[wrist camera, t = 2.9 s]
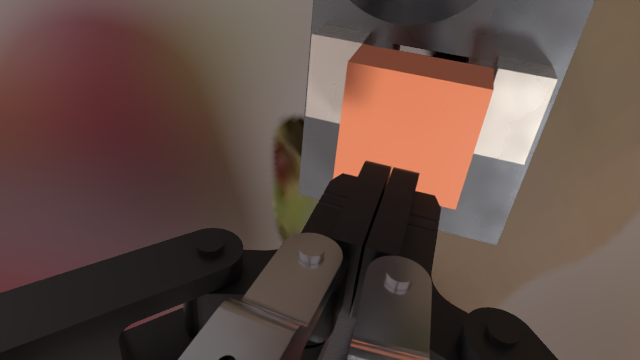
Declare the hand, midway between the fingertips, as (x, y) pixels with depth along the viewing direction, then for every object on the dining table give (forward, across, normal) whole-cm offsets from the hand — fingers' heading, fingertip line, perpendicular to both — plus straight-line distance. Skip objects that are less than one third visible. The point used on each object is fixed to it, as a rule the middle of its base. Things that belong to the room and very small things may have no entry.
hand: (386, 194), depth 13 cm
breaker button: (+8, 0, 0) cm, 8 cm away
